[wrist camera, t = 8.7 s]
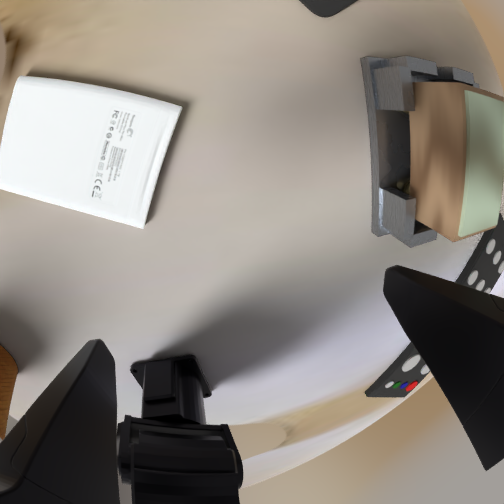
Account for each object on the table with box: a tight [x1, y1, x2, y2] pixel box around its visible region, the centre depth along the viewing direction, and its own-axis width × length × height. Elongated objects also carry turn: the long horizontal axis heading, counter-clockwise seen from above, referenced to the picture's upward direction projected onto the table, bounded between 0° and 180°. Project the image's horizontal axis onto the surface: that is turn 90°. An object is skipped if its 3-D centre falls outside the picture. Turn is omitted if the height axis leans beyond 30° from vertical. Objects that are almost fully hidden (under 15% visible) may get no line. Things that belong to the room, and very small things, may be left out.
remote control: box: [365, 213, 504, 397], centre depth 31 cm, size 11×30×2 cm, turn 150°
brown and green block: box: [409, 82, 504, 242], centre depth 15 cm, size 10×6×5 cm, turn 8°
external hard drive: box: [0, 76, 183, 229], centre depth 15 cm, size 2×8×12 cm
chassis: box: [360, 56, 479, 248], centre depth 18 cm, size 14×10×4 cm
